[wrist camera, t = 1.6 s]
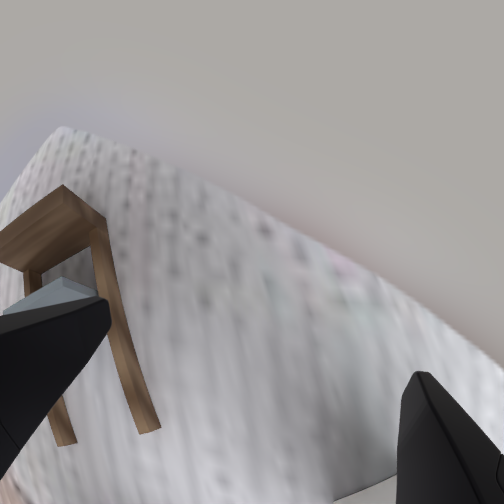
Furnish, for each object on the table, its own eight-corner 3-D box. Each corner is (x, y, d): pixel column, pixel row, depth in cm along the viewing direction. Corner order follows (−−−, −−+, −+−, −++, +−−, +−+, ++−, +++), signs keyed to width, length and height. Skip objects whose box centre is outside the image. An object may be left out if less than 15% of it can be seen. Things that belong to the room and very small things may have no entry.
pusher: (107, 302, 24) (63, 286, 19) (47, 330, 25) (3, 319, 19) (105, 294, 25) (61, 276, 19) (46, 322, 25) (2, 311, 19)
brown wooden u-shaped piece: (161, 427, 20) (112, 446, 14) (70, 443, 21) (19, 453, 14) (105, 218, 28) (62, 184, 21) (34, 261, 28) (-10, 239, 22)
